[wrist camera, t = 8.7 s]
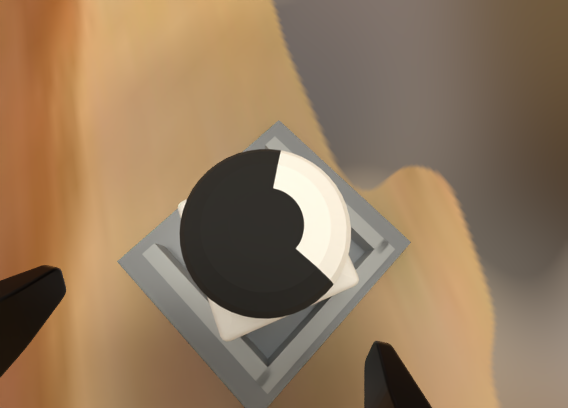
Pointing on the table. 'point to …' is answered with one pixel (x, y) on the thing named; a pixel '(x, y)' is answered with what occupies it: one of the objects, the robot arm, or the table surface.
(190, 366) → the table surface
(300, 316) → the bottle holder
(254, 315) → the medicine bottle
